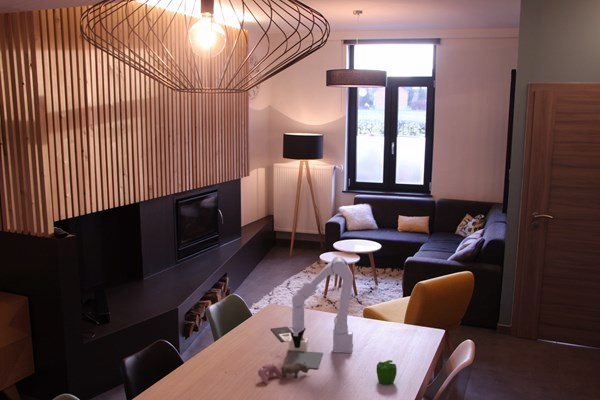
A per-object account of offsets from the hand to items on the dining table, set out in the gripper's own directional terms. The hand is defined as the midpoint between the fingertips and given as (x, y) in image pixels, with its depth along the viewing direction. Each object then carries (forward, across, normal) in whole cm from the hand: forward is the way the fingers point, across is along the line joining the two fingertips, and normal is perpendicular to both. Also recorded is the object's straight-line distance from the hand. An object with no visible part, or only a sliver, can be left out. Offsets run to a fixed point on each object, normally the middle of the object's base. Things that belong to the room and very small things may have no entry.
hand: (298, 345), depth 269 cm
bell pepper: (+2, +28, +42) cm, 51 cm away
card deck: (+2, 0, 0) cm, 2 cm away
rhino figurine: (+2, +30, +4) cm, 30 cm away
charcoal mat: (+2, +12, +5) cm, 14 cm away
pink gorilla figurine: (+2, +34, -6) cm, 34 cm away
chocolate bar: (+2, -17, -10) cm, 20 cm away
